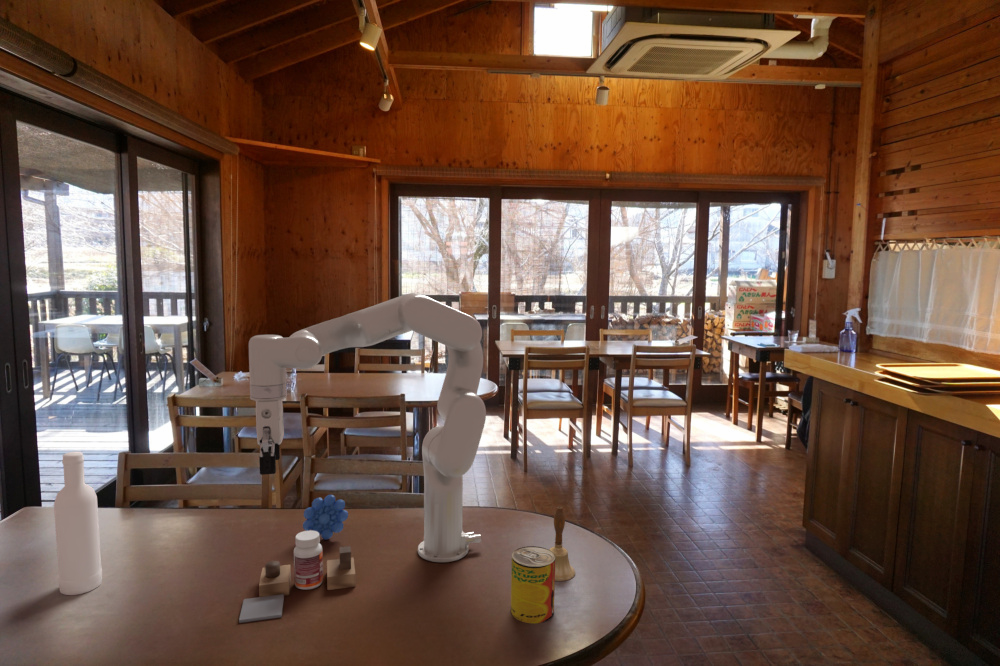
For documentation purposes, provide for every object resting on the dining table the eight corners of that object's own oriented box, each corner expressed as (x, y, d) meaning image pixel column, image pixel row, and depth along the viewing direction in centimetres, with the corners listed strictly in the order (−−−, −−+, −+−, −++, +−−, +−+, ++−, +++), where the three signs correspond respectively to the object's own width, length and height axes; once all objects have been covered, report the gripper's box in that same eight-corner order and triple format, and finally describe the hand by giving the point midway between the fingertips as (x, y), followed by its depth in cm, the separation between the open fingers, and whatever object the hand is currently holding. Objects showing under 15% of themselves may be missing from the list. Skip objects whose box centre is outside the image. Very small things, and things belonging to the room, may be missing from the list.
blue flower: (351, 531, 166) (351, 488, 164) (346, 543, 159) (346, 498, 158) (307, 532, 165) (306, 488, 163) (300, 543, 158) (299, 498, 157)
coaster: (283, 596, 133) (283, 594, 133) (281, 617, 125) (281, 614, 125) (243, 601, 131) (243, 599, 131) (239, 622, 123) (238, 620, 123)
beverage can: (541, 628, 123) (542, 571, 122) (502, 614, 128) (503, 559, 126) (561, 607, 130) (562, 553, 129) (524, 595, 135) (525, 542, 134)
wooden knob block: (353, 569, 145) (353, 540, 145) (355, 586, 138) (355, 556, 137) (262, 580, 140) (261, 550, 139) (259, 598, 132) (258, 567, 131)
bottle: (98, 573, 142) (90, 446, 138) (106, 586, 136) (99, 454, 133) (55, 586, 136) (46, 453, 133) (63, 600, 131) (53, 461, 127)
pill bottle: (326, 585, 138) (325, 537, 137) (298, 593, 134) (297, 543, 133) (318, 574, 143) (317, 527, 142) (291, 581, 140) (289, 533, 138)
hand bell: (582, 572, 146) (584, 507, 144) (560, 585, 140) (562, 517, 138) (554, 560, 151) (556, 497, 149) (532, 572, 145) (533, 507, 143)
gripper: (283, 398, 129) (284, 478, 131) (289, 383, 145) (290, 454, 147) (244, 400, 127) (246, 481, 129) (255, 384, 144) (256, 456, 145)
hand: (270, 466), depth 138 cm, fingers open, 9 cm apart
